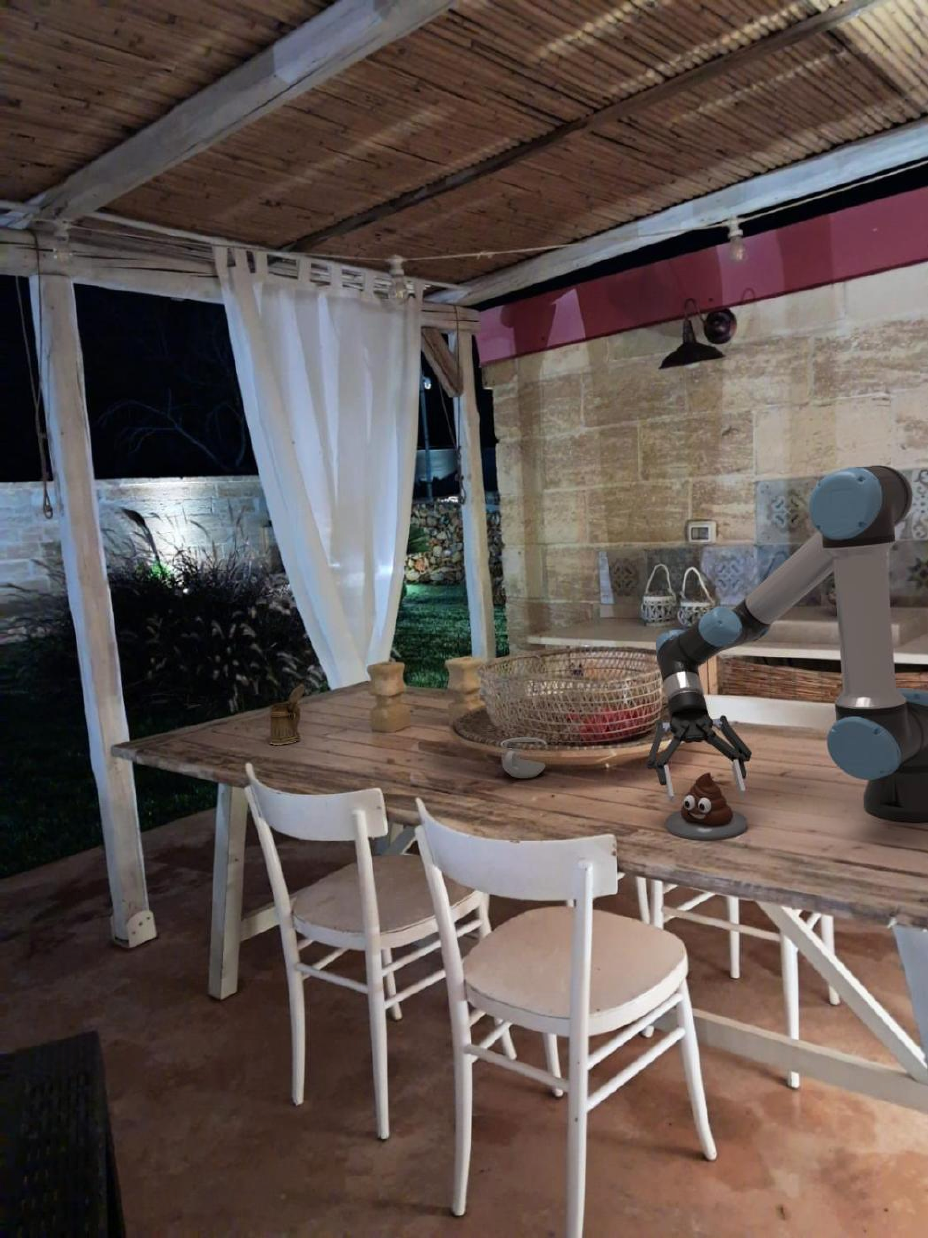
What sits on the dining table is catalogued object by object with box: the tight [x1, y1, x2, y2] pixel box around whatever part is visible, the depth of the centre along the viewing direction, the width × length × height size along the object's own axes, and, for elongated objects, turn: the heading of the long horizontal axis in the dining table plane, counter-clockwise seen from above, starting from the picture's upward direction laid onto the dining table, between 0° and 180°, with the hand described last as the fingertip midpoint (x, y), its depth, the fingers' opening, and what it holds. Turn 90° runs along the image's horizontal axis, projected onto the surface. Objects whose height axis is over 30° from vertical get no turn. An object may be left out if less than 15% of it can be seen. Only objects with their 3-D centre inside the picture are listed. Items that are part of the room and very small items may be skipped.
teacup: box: [499, 736, 547, 779], centre depth 218 cm, size 14×11×8 cm
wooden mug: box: [268, 682, 306, 743], centre depth 272 cm, size 9×14×18 cm, turn 61°
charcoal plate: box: [665, 810, 748, 842], centre depth 176 cm, size 15×15×1 cm
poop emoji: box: [680, 772, 734, 826], centre depth 176 cm, size 10×8×9 cm
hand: (706, 796), depth 173 cm, fingers open, 12 cm apart
